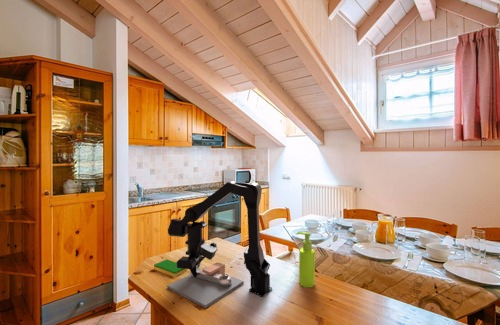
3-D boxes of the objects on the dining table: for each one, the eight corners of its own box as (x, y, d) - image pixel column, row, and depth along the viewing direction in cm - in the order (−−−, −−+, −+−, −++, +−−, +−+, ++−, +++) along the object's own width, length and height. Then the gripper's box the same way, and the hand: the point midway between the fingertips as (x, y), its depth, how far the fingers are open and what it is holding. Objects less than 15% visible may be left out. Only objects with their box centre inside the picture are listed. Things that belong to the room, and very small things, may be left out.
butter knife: (245, 254, 130) (240, 253, 131) (216, 279, 105) (210, 277, 107) (245, 255, 130) (240, 254, 131) (216, 280, 105) (210, 278, 107)
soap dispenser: (299, 277, 106) (299, 229, 105) (316, 282, 102) (316, 231, 102) (294, 284, 101) (294, 233, 100) (311, 288, 97) (312, 236, 96)
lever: (234, 282, 100) (234, 273, 100) (227, 288, 96) (227, 279, 95) (196, 271, 109) (196, 264, 109) (188, 276, 104) (188, 269, 104)
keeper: (224, 274, 107) (224, 264, 106) (209, 283, 100) (209, 272, 100) (217, 271, 109) (217, 262, 109) (202, 279, 102) (202, 269, 102)
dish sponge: (174, 278, 107) (174, 272, 107) (153, 270, 114) (153, 264, 114) (187, 271, 113) (187, 266, 113) (166, 264, 120) (166, 258, 120)
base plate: (243, 283, 101) (243, 281, 101) (205, 308, 85) (205, 305, 85) (206, 268, 114) (206, 266, 114) (167, 288, 98) (167, 285, 98)
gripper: (203, 247, 91) (204, 291, 92) (222, 232, 109) (222, 268, 110) (175, 245, 94) (175, 287, 94) (198, 230, 112) (198, 266, 112)
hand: (195, 276), depth 103 cm, fingers closed
